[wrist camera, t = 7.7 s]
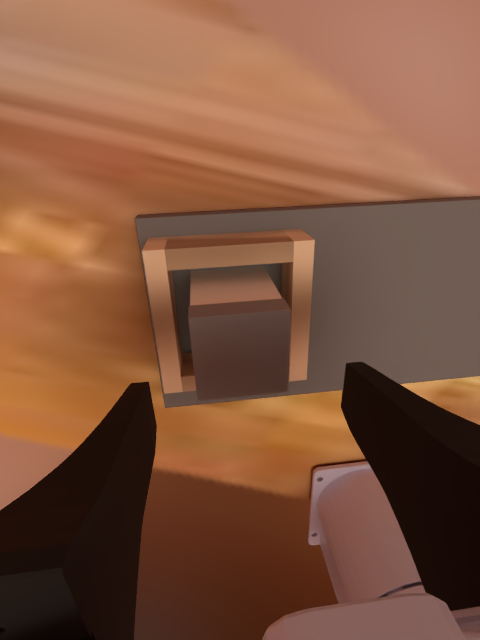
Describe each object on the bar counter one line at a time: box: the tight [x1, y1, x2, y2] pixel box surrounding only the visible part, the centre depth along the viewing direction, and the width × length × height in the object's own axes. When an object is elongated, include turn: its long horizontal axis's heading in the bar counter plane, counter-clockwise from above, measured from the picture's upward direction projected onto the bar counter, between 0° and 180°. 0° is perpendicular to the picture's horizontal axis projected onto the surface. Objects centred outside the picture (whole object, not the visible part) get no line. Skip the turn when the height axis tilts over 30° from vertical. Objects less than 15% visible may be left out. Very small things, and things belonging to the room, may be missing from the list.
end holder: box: [142, 229, 315, 394], centre depth 19 cm, size 8×8×2 cm
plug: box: [188, 266, 291, 401], centre depth 18 cm, size 4×4×6 cm
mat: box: [135, 196, 480, 408], centre depth 22 cm, size 12×22×1 cm, turn 92°
